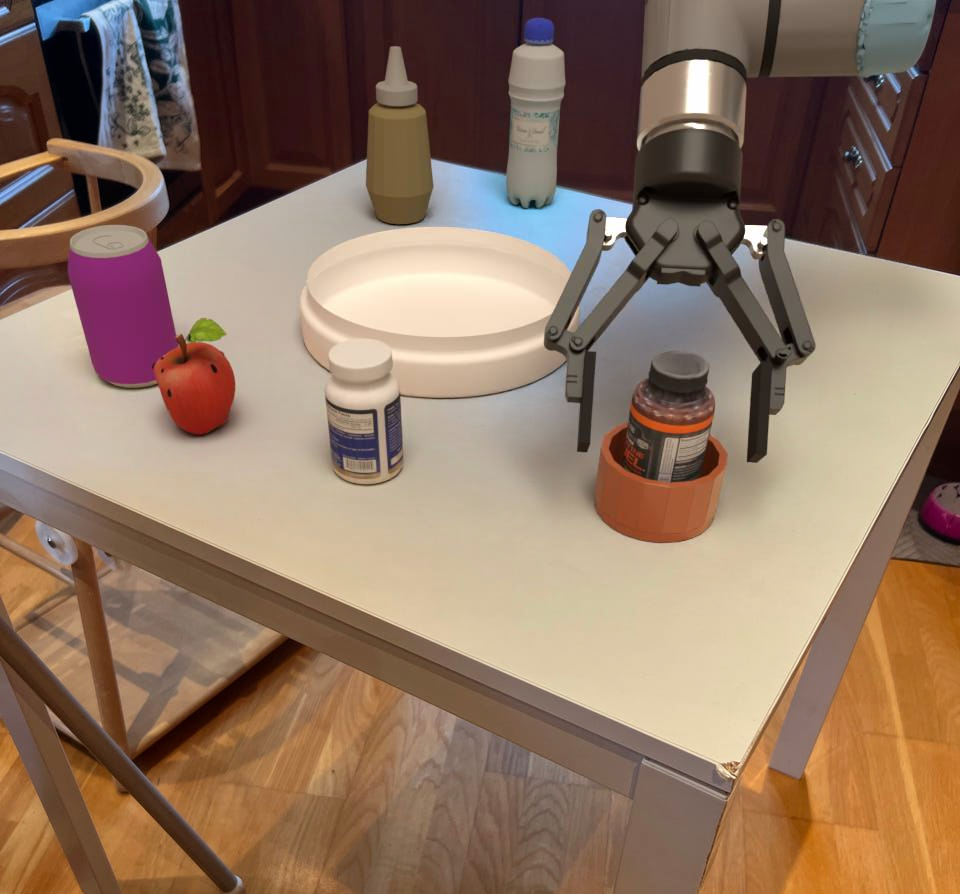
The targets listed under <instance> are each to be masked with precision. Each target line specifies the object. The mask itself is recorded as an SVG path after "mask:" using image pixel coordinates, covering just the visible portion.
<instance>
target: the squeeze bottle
mask: <svg viewBox="0 0 960 894" xmlns="http://www.w3.org/2000/svg"><path fill="white" fill-rule="evenodd" d="M388 51H389V52H388V59H387V64H386V71H385V76H384V77H385V78H384V80H382V81H379V82H377V84H376V85H375V98H376V103H374V104H373V105H372V106H371V108H369V110H368V121H367V146H366V166H365V167H366V168H365V170H366V171H365V188H366V190H367V193H368V196H369V198H370V201H371V204H372V207H373V209H374V212H375V215H376V218H377V219H378V220H379V221H381V222H383V223H384V222H385V223H388V224H392V225H393V224H394V225H408V224H409V225H410V224H415V223H418V222H420V221H422V220H423V219H424V218H425V216H426V214H427V211H428V207H429V204H430V201H431V196H432V193H433V190H434V186H435V185H434V178H433V167H432V159H431V158H432V157H431V149H430V147H431V146H430V139H429V130H428V128H429V127H428V118H427V111H426V109H425V108H424V107H423V106H422V105H421V104H419V103H417V102H418V100H419V99H418V98H419V97H418V96H419V95H418V85H417V83H415V82H413V81H410V80H408V76H407V71H406V66H405V62H404V57H403V51H402V47H401V46H397V45H396V46H393V45H392V46H390V47H389V50H388Z"/></svg>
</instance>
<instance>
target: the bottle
mask: <svg viewBox="0 0 960 894" xmlns="http://www.w3.org/2000/svg"><path fill="white" fill-rule="evenodd" d="M523 33H524V34H523V39H524V42H525V43H522V44H521V45H520V46H517V47H516V48H515V49H514V50H513V51H512V56H511V63H510V69H509V75H508V76H509V77H508V81H507V82H508V86H509V87H508V89H509V90H508V95H509V98H510V114H509V115H510V117H509V140H508V158H507V164H506V165H507V166H506V173H505V174H506V176H505V187H506V193H507V197H508V199H509V202H510V203H511V204H512V205H514V206H517V205H519V203H520V204H521V206H522V208H524V209H528V208H529V206H530V202H531V201H535V207H536V208H537V209H540V208H542V207H543V206H544V205H546V206H547V205H549V204H551V202H552V201H553V200H554V197H555V194H556V188H557V175H558V165H557V164H558V157H557V156H558V145H559V129H560V118H561V117H560V116H561V115H560V114H561V104H562V103H561V102H562V100H563V99H564V97H565V91H564V90H565V87H566V84H567V83H566V71H565V70H566V67H565V65H566V64H565V53H564V51H563V50H562V49H561V48H559V47H558V46H556V45H555V44H553V42H554V39H555V38H554V37H555V36H554V35H555V26H554V23H553V21H552V20H550V19H548V18H545V17H533V18H530V19H528V20H527V21H526V22H525V24H524V32H523Z"/></svg>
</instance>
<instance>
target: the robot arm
mask: <svg viewBox="0 0 960 894" xmlns="http://www.w3.org/2000/svg"><path fill="white" fill-rule="evenodd" d="M936 5H937V0H645V3H644V17H643V18H644V19H643V38H642V39H643V40H642V55H641V56H642V57H641V75H640V76H641V78H640V93H639V109H638V122H637V123H638V124H637V134H636V135H637V136H636V137H637V138H636V148H637V151H638V152H637V154H636V156H635V163H634V177H633V179H634V181H633V191H632V192H633V193H632V195H633V196H632V207H631V212H630V214H629V215H628V216H627V218H626V217H613V216H607V214H606V212H605V210H603V209H600V208H597V209H594V210H591V212H590V214H589V217H588V223H587V229H586V238H585V244H584V245H583V248H582V251H581V252H580V254H579V257H578V259H577V261H576V262H575V265H574V267H573V269H572V271H571V272H570V273H571V275H570V277H569V280H568V282H567V284H566V286H565V288H564V290H563V292H562V294H561V296H560V298H559V300H558V303H557V305H556V307H555V309H554V311H553V313H552V315H551V317H550V319H549V321H548V323H547V325H546V328H545V333H544V346H545V348H546V349H547V350H550V351H554V350H555V351H557V352H560V353H561V354H563V355H564V356H565V357H566V373H565V374H566V375H565V387H564V388H565V389H564V397H565V401H566V403H568V404H579V412H578V425H577V427H578V428H577V444H576V453H588V451H589V448H590V445H591V439H592V438H591V435H592V425H593V423H592V421H593V408H594V394H595V393H594V391H595V390H594V389H595V377H596V362H597V351H593V350H592V351H591V350H590V349H591V348H592V347H593V346H594V345H595V343H597V341H598V340H599V338H600V337H601V336H602V335H603V333H604V332H605V331H606V330H607V329H608V328H609V326H610V325H611V324H612V322H613V321H614V320H615V319H616V318H617V316H619V314H621V312H622V311H623V309H624V308H625V306H627V304H628V303H629V302H630V301H631V300H632V298H633V297H634V296H635V295H636V293H638V292H639V291H640V290H641V289H642V287H643V286H644V285H645V284H646V283H647V282H648V281H649V279H651V280H653V281H655V282H656V285H664V286H668V285H673V284H682V285H685V286H688V287H701V285H702V284H707V286H708V287H709V289H710V291H711V292H712V294H713V295H714V296H715V297H716V298H719V299H720V301H721V303H722V305H723V306H724V308H725V309H726V311H727V312H728V314H729V315H730V317H731V319H732V320H733V322H734V324H735V326H737V328H738V330H739V332H740V334H741V335H742V336H743V338H744V340H745V341H746V342H747V344H748V346H749V348H750V349H751V350H752V352H753V354H754V355H755V357H756V358H757V360H758V361H759V363H758V365H757V367H755V369H754V370H753V371H752V373H751V383H750V384H751V385H750V397H749V399H750V400H749V416H748V431H747V445H746V446H747V448H746V463H752V464H758V463H759V462H760V461H761V460H762V459H764V458H765V457H766V456H767V455H768V444H769V443H768V441H769V429H770V428H769V426H770V425H769V424H770V416H776V415H777V414H778V413H780V412H781V410H782V408H784V405H785V397H786V382H787V381H786V380H787V369H788V367H792V366H800V365H802V364H803V363H804V362H805V361H806V360H808V358H809V357H810V356H811V355H812V354H813V353H814V351H815V350H816V347H817V345H816V341H815V338H814V335H813V332H812V329H811V326H810V322H809V321H808V317H807V315H806V311H805V308H804V305H803V301H802V299H801V297H800V294H799V290H798V287H797V284H796V281H795V279H794V276H793V272H792V270H791V266H790V264H789V261H788V258H787V255H786V252H785V243H786V242H785V241H786V225H785V222H784V221H783V220H781V219H780V218H773V219H771V220H770V221H769V222H768V224H767V225H760V224H759V225H756V224H745V222H744V220H743V218H742V214H741V209H740V206H741V205H740V204H741V188H742V171H743V151H742V147H743V145H744V142H745V126H746V125H745V124H746V107H747V106H746V105H747V89H748V78H749V79H750V78H751V79H752V78H759V79H760V78H761V79H762V78H794V77H795V78H797V77H801V78H803V77H804V78H805V77H860V79H867V78H869V77H871V76H878V75H886V74H888V75H889V74H895V73H896V74H898V73H899V74H900V73H905V72H907V71H909V70H910V69H912V68H913V67H914V66H915V65H916V64H917V63H918V61H919V60H920V58H921V56H922V54H923V52H924V50H925V48H926V44H927V41H928V38H929V36H930V32H931V29H932V24H933V21H934V15H935V9H936ZM619 239H624V242H625V243H626V244H627V246H628V247H629V249H630V251H631V252H632V254H633V255H634V257H633V259H632V260H631V261H630V263H629V264H628V266H627V267H626V269H625V270H624V271H623V273H622V274H621V275H620V276H619V278H618V279H617V280H616V281H615V282H614V284H612V286H611V287H610V288H609V290H608V291H607V292H606V294H605V295H604V296H603V297H602V298H601V300H600V301H599V302H598V303H597V305H596V306H595V307H594V308H593V310H591V311H590V313H589V315H588V316H587V317H586V318H585V319H584V320H583V322H582V323H581V324H580V325H579V326H578V329H577V330H576V332H575V333H572V332H570V331H567V329H568V327H569V325H570V323H571V321H572V319H573V316H574V314H575V312H576V310H577V308H578V306H579V304H581V302H582V300H583V298H584V296H585V294H586V291H587V289H588V287H589V285H590V283H591V281H592V278H593V276H594V274H595V272H596V270H597V269H598V266H599V264H600V262H601V261H600V260H601V257H602V253H603V252H609V251H610V250H612V249H613V248H614V246H615V243H616V242H617V240H619ZM741 245H743V246H746V247H747V249H748V250H749V254H750V256H751V258H752V259H753V260H758V271H759V274H760V278H761V281H762V284H763V287H764V290H765V292H766V295H767V299H768V301H769V305H770V308H771V310H772V314H773V316H774V319H775V320H774V321H775V322H776V325H777V328H778V331H777V330H776V328H775V326H774V325H773V323H772V321H771V320H770V319H769V317H768V315H767V314H766V312H765V310H764V309H763V306H761V304H760V302H759V301H758V299H757V298H756V297H755V294H754V293H753V292H752V290H751V289H750V287H749V285H748V284H747V282H746V280H745V279H744V278H743V276H742V271H741V267H740V265H739V264H738V263H737V260H736V259H735V257H734V256H733V255H734V253H735V252H736V251H737V250H738V248H739V247H740V246H741ZM778 332H779V333H778Z"/></svg>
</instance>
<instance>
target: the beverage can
mask: <svg viewBox="0 0 960 894" xmlns="http://www.w3.org/2000/svg"><path fill="white" fill-rule="evenodd" d="M67 259H68V260H67V261H68V262H67V276H68V279H69V283H70V286H71V290H72V294H73V297H74V302H75V305H76V308H77V312H78V317H79V320H80V324H81V327H82V331H83V335H84V339H85V342H86V346H87V349H88V353H89V356H90V360H91V364H92V366H93V370H94V372H95V374H97V376H98V377H99V378H100V379H102V380H105V381H106V382H108V383H109V384H111V385H114V386H115V387H120V388H125V389H140V388H141V389H142V388H148V387H151V386H156V385H158V384H157V381H156V378H155V374H154V370H153V369H152V365H153V364H154V363H156V362H157V361H158V360H159V359H160V358H161V357H162V356H163V355H165V354H166V353H168V352H170V351H171V350H173V349H175V348H177V347H179V344H178V343H177V341H176V339H175V337H177V332H176V327H175V323H174V317H173V312H172V308H171V302H170V298H169V293H168V288H167V283H166V278H165V273H164V269H163V263H162V258H161V257H160V255H159V253H158V251H157V250H156V249H155V247H154V245H153V243H152V242H151V240H150V238H149V236H148V234H147V232H146V231H144V229H141V228H139V227H136V226H132V225H126V224H107V225H99V226H94V227H89V228H86V229H83V230H81V231H79V232H77V233H75V234H73V236H72V237H70V239H69V251H68V258H67Z"/></svg>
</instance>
